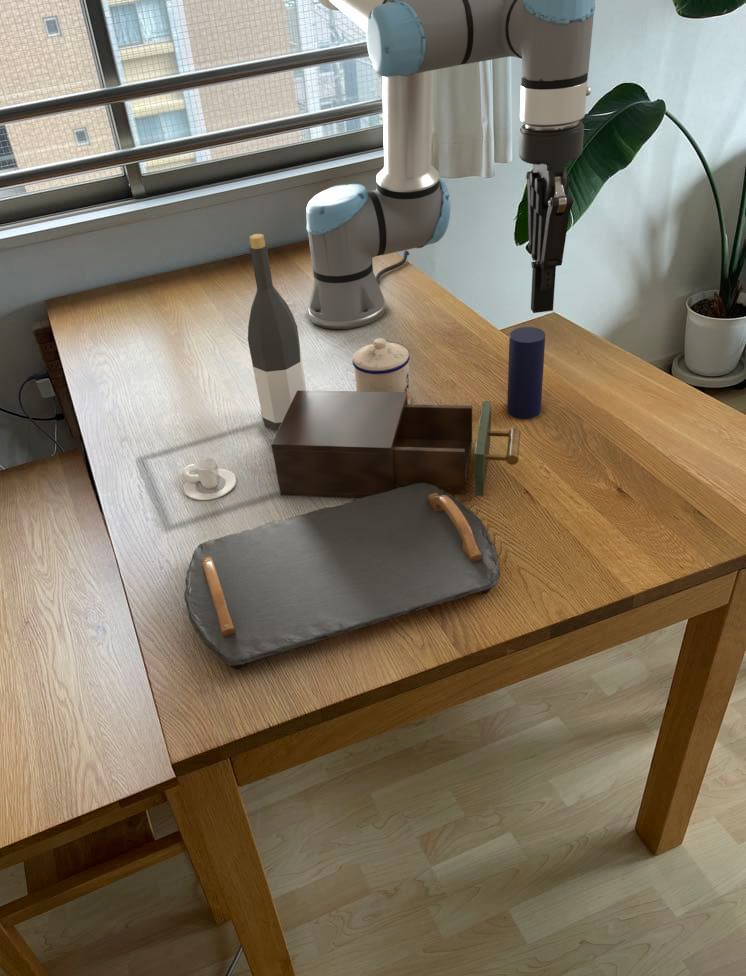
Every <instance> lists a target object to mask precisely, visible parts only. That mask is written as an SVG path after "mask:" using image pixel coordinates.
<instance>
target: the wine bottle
mask: <svg viewBox="0 0 746 976" xmlns="http://www.w3.org/2000/svg"><path fill="white" fill-rule="evenodd" d="M249 243H250V245H249V253H250V256H251V261H252V262H251V263H252V267H253V272H254V273H253V274H254V278H255V284H256V292H255V294H254V298H253V301H252V304H251V307H250V314H249V320H248V326H247V343H248V349H249V353H250V358H251V365H252V369H253V374H254V381H255V385H256V390H257V395H258V402H259V405H260V413H261V417H262V422H263V425H264V426H265V427H268V428H270V429H271V430H274V431H276V432H277V431H278V429H279V427H280V425H281V423H282V421H283V419H284V417H285V415H286V413H287V411H288V409H289V407H290V405H291V403H292V400H293V398H294V396H295V394H296V392H297V391H298V390H300V391H307V386H306V378H305V371H304V365H303V357H302V351H301V343H300V337H299V330H298V324H297V322H296V320H295V317H294V315H293V312H292V311H291V309H290V307H289V305H288V304H287V302H286V300H285V299H284V298H283V297H282V296H281V294H280V293H279V292H278V290H277V289H276V287H275V286H274V285H273V284H274V283H273V278H272V272H271V266H270V265H271V264H270V261H269V260H270V259H269V254H268V253H269V252H268V244H267V243H266V241H265V236H264V234H263V233H254V234H251V235H250V236H249Z"/></svg>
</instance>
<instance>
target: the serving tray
mask: <svg viewBox="0 0 746 976" xmlns="http://www.w3.org/2000/svg"><path fill="white" fill-rule="evenodd" d="M498 560H499V555H498V551H497V548H496V544H495V543H494V542H493V541H492V538H491V536H490V534H489V532H488V530H487V528H486V526H485V524H484V523H483V522H482V520H481V519H480V518H479V516H477V515H476V514H475V513H474V512H473V510H471V509H470V508H468V507H467V506H466V505H465V504H464V503H462V502H461V501H460V500H459V499H458V498H457V497H455V496H454V495H452V494H450V493H448V492H446V490H444V489H439V488H438V487H437V486H434V485H431V484H427V483H424V482H423V483H416V484H412V485H409V486H405V487H398V488H396V489H393V490H391V491H387V492H383V493H379V494H375V495H371V496H366V497H363V498H360V499H354V500H351V501H349V502H346V503H342V504H338V505H335V506H327V507H323V508H320V509H315V510H311V511H308V512H306V513H303V514H299V515H295V516H293V517H289V518H286V519H281V520H277V521H271V522H268V523H265V524H263V525H259V526H257V527H254V528H252V529H246V530H242V531H241V532H236V533H231V534H227V535H225V536H221V537H218V538H214V539H209V540H207V541H204V542H202V543H200V544H198V546H197V547H196V548H195V549H194V551H193V553H192V555H191V560H190V563H189V566H188V568H187V571H186V577H185V580H184V581H185V582H184V583H185V590H184V595H183V597H184V602H185V605H186V610H187V613H188V619H189V621H190V623H191V625H192V626H193V628H194V631H196V633H197V635H198V636H199V638H200V639H201V640H202V641H203V643H204V644H205V645H206V646H207V647H208V648H209V649H211V650H212V651H213V652H214V653H215V655H216V656H217V657H218V659H220V660H221V661H222V662H224V663H225V664H227V665H228V666H229V667H230V668H232V670H235V671H236V670H237V671H239V670H241V669H242V668H243V667H244V666H245V664H248V663H252V662H255V661H257V660H258V661H259V660H260V659H264V658H268V657H271V656H275V655H279V654H282V653H284V652H287V651H291V650H294V649H298V648H300V647H303V646H306V645H312V644H314V643H317V642H320V641H322V640H325V639H330V638H333V637H336V636H339V635H343V634H348V633H350V632H353V631H355V630H359V629H361V628H365V627H370V626H372V625H374V624H377V623H378V624H379V623H383V622H387V621H389V620H392V619H395V618H398V617H403V616H406V615H409V614H411V613H414V612H418V611H422V610H425V609H428V608H430V607H434V606H437V605H441V604H444V603H448V602H451V601H453V600H457V599H460V598H464V597H467V596H470V595H473V594H476V593H480V594H483V595H486V594H488V593H489V592H490V591H491V590H492V589H493V588H494V587H497V585H499V583H500V577H501V569H500V563H499V561H498Z"/></svg>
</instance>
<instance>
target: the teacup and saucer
mask: <svg viewBox="0 0 746 976" xmlns="http://www.w3.org/2000/svg"><path fill="white" fill-rule="evenodd" d="M192 473H194V474H192ZM181 477H182V479H183V480H184V481H185V482H184V483H183V484H184V485H183V488H182V489H183V492H184V494H185V495H186V496H187V497H188V498H190V499H192V500H197V501H211V500H215V499H218V498H221V497H223V496H225V495H227V494H229V493H231V491H232V490H233V489H234V488H235V486H236V484H237V477H236V475H235V474H234V473H233V472H231V471H230V470H228V469H225V468H218V463H217V460H216V459H215V458H212V457H206V458H201V459H200V460H198V461H197V462H196V463H192V464H189V465H186V466H185V467H184V468H183V469H182V471H181ZM220 477H221V478H223V479H224V481H225V485H224V486H223V488H221V489H220V490H218V491H215V492H212V493H201V492H199V491H198V490H197V489H196V486H197V484H198V483H201V484H202V486H203V487H204V488H205V489H207V490H210V489H214V488H216V487H218V484H219V482H220Z"/></svg>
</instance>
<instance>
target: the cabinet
mask: <svg viewBox="0 0 746 976" xmlns="http://www.w3.org/2000/svg"><path fill="white" fill-rule="evenodd" d="M405 404H408V398H407V392H364V391H357V390H355V391H354V390H353V391H351V390H306V391H300V390H298V391H297V392H296V394H295V396H294V398H293V400H292V403H291V405H290V407H289V409H288V411H287V413H286V415H285V417H284V419H283V421H282V423H281V425H280V427H279V429H278V431H276V433H275V435H274V437H273V439H272V442H271V443H270V447H271V452H272V456H273V463H274V466H275V473H276V479H277V484H278V489H279V494H280V496H292V497H312V498H315V497H316V498H332V499H333V498H334V499H354V500H357V499H360V498H363V497H366V496H371V495H375V494H379V493H383V492H387V491H391V490H393V489H396V488H399V487H395V480H394V466H393V452H392V449H393V446H394V442H395V439H396V435H397V432H398V428H399V425H400V422H401V418H402V415H403V411H404V408H405Z"/></svg>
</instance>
